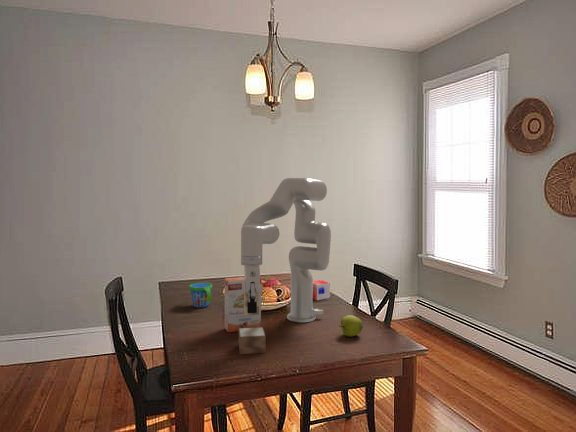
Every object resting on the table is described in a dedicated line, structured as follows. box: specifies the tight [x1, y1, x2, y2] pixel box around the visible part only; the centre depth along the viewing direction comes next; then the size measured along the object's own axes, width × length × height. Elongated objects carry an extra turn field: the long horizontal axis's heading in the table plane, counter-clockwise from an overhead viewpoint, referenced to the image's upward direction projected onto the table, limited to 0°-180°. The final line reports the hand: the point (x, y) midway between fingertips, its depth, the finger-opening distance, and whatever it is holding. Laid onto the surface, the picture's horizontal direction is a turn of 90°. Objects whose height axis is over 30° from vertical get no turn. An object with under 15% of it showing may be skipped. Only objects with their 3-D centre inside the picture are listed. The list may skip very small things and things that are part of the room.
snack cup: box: [188, 282, 213, 309], centre depth 217 cm, size 16×10×10 cm
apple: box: [339, 314, 364, 337], centre depth 178 cm, size 8×9×8 cm
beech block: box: [244, 292, 259, 315], centre depth 163 cm, size 5×5×7 cm
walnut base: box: [238, 326, 267, 355], centre depth 164 cm, size 9×9×6 cm
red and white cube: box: [313, 279, 331, 301], centre depth 234 cm, size 8×8×8 cm
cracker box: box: [224, 276, 262, 333], centre depth 185 cm, size 14×6×21 cm, turn 113°
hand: (251, 310), depth 163 cm, fingers closed on beech block, 5 cm apart
